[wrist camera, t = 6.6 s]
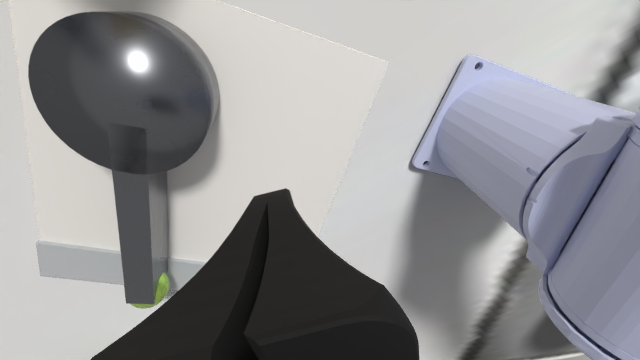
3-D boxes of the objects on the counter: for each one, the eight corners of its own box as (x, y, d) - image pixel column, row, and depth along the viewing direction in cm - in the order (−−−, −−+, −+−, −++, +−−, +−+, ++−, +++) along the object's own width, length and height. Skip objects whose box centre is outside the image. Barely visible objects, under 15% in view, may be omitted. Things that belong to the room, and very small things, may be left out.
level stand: (380, 58, 18) (391, 63, 16) (291, 285, 27) (293, 303, 25) (25, -70, 13) (-10, -81, 12) (56, 257, 22) (39, 277, 20)
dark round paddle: (60, -7, 13) (8, -12, 11) (224, 31, 15) (214, 36, 12) (103, 278, 21) (80, 315, 19) (206, 283, 23) (197, 318, 20)
